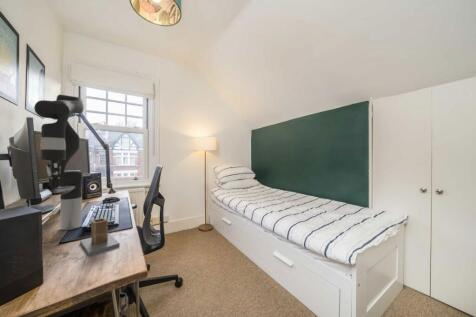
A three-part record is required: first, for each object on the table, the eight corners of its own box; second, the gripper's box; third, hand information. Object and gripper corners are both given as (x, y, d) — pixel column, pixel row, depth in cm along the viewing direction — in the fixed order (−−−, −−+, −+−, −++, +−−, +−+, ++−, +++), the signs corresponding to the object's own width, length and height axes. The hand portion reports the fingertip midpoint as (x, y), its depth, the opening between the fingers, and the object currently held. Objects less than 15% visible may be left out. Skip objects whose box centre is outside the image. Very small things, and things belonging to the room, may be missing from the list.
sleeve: (91, 242, 84) (91, 220, 84) (104, 238, 88) (104, 217, 88) (94, 245, 81) (94, 223, 81) (107, 241, 85) (107, 220, 85)
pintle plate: (80, 243, 86) (80, 227, 86) (108, 235, 94) (108, 221, 94) (89, 256, 75) (89, 238, 75) (119, 246, 83) (119, 230, 83)
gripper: (68, 148, 76) (68, 187, 76) (63, 149, 85) (63, 184, 85) (41, 148, 70) (42, 190, 70) (39, 149, 79) (39, 186, 79)
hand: (53, 186), depth 77 cm, fingers open, 8 cm apart
